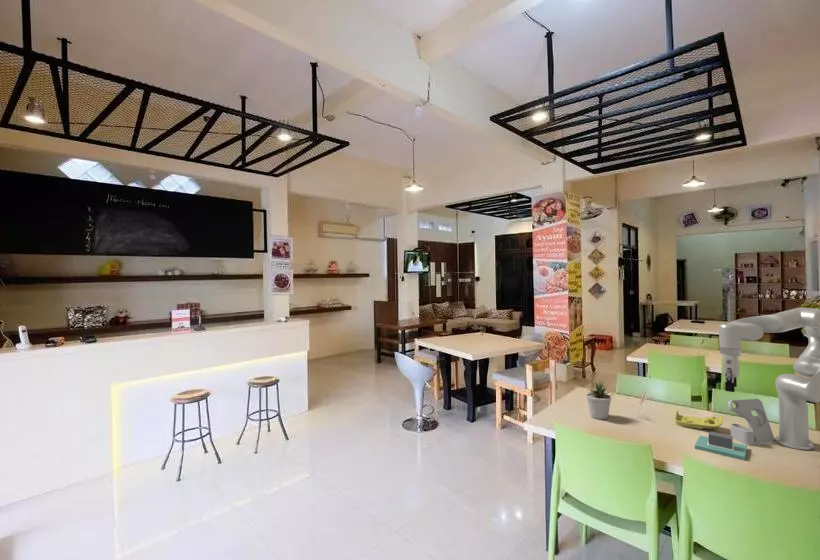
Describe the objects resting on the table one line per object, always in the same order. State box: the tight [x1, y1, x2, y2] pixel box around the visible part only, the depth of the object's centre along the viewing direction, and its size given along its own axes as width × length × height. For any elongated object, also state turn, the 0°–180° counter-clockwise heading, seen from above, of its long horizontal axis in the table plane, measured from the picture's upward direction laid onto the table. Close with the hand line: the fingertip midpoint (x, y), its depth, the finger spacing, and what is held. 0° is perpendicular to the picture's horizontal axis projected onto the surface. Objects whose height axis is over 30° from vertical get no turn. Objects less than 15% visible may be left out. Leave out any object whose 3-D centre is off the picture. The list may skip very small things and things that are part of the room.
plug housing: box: [708, 431, 734, 449], centre depth 174 cm, size 4×8×4 cm, turn 46°
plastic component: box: [674, 410, 724, 431], centre depth 198 cm, size 20×7×10 cm
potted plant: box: [585, 379, 614, 420], centre depth 216 cm, size 13×14×20 cm
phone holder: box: [727, 398, 779, 447], centre depth 182 cm, size 17×10×18 cm, turn 95°
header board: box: [694, 435, 748, 461], centre depth 174 cm, size 14×17×4 cm
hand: (731, 388), depth 175 cm, fingers open, 9 cm apart
